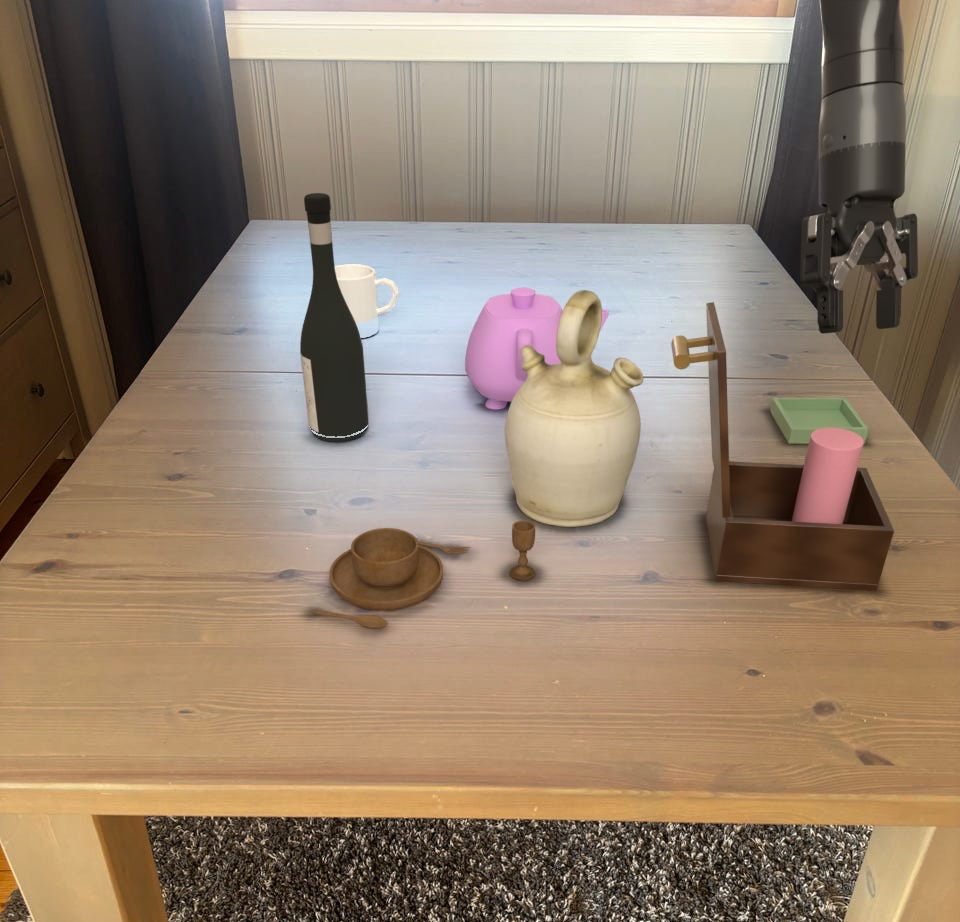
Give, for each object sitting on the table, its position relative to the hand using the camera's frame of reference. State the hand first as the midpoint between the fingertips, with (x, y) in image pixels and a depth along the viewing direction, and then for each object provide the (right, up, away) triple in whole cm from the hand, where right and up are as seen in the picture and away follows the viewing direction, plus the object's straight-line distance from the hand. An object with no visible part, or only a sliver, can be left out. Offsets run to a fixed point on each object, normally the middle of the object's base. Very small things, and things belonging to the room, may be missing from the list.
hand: (860, 330), depth 94 cm
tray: (+9, -1, +39) cm, 40 cm away
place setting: (-43, -25, +7) cm, 50 cm away
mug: (-56, +21, +68) cm, 91 cm away
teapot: (-29, +5, +47) cm, 55 cm away
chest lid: (-12, -7, +4) cm, 15 cm away
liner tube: (0, -20, +13) cm, 24 cm away
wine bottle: (-56, -2, +38) cm, 68 cm away
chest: (-3, -20, +13) cm, 24 cm away
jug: (-26, -14, +22) cm, 37 cm away
